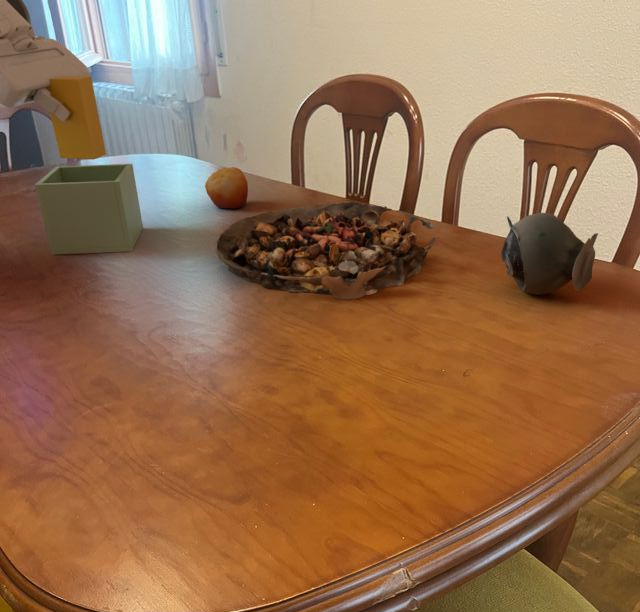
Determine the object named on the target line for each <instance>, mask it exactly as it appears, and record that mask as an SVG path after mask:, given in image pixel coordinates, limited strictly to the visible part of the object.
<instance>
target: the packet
mask: <svg viewBox="0 0 640 612" xmlns="http://www.w3.org/2000/svg"><path fill="white" fill-rule="evenodd" d="M49 81H50V82H51V85H50V86H49V87H45V88H46V89H47V90H48V91H49V92H50V93H51V95H50V96H52V97H53V98H55V99H56V100H57V101H59V102H60V103H62V104H63V103H65V104H66V105H67V106H68V107H69V108H70V109H71V110H72V112H73V115H72V116H71V118H70V120H67V121H61V120H60V119H59V118H58V117H57V116H56V115H55V114H53V113H51V112H49V116H50V119H51V124H52V128H53V133H54V136H55V141H56V146H57V150H58V154H59V158H60V159H68V160H70V159H71V160H96V159H99V158H101V157H104V156H106V155H107V151H106V145H105V141H104V135H103V131H102V130H103V129H102V126H101V119H100V115H99V110H98V104H97V100H96V94H95V89H94V84H93V78H92V75H91V76H61V77H56V78H51V79H49Z"/></svg>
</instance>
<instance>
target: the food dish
mask: <svg viewBox="0 0 640 612" xmlns="http://www.w3.org/2000/svg"><path fill="white" fill-rule="evenodd" d="M388 211H392V208H389V207H387V206H386V205H385V206H382V205H376V204H372V203H371V204H368V203H365V204H361V203H360V202H357V201H353V200H351V201H340V202H333V203H324V204H310V205H304V206H303V205H302V206H295V207H286V208H281V209H278V210H275V211H267V212H261V213H259V214H256V215H253V216H247V217H245V218H242V219H240V220H237V221H236V222H233V223H232V224H231V225H229V227H228V228H226V229H224V231H222V232H221V233H220V234H219V235H218V236H217V238H216V242H215V243H214V249H215V252H216V254H217V257H218V258H219V260H220V261H221V262H222V263H224V264H225V265H226V266H227V268H228V271H229V272H231V273H232V274H234V275H236V276H238V277H240V278H244V279H246V280H247V281H248V282H251V283H257V284H260V285H262V286H263V287H264V288H266V289H269V290H277V291H282V292H283V291H284V292H288V293H292V294H293V293H294V294H299V293H311V294H315V295H316V294H317V295H332V296H333V298H334V299H335V298H336V299H340V300H357V299H360V298H362V297H364V296H370V295H374V294H376V293H377V292H378V291H380V290H382V289H386V288H390V287H394V286H399V287H400V286H403V285H405V280H407V279H409V278H410V277H411V276H416V275H418V274H421V272H423V271H422V268H423V266H424V265H426V257H427V255H428V253H429V250H430V249H431V247H432V246H433V245H434V243H436V239H437V237H432V238H431V241H430V242H429V243H427V244H426V246H425V247H424V246H418V244H417V245H416V242H417V239H418V237H417V234H416V233H415V232H413V231H412V230H411V227H412V224H413V223H415V222H416V221H420V222H421V225H422V226H424V227H425V228H426V229H430V230H432V229H434V227H435V226H434V224H433V223H431V222H430V221H428V220H425V219H423V218H421V219H420V218H418V217H417V215H415V214H413V213H410V212H407V211H403V210H395V212H397V213H400V214H403V215H406V216H407V217H408V224H407V225H408V226H407V227H406V223H405V220H404V219H399V221H398V222H393V220H391V221H390V220H388V219H385V220H382V221H380V219H381V216H382V215H383V213H384V212H388Z"/></svg>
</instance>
